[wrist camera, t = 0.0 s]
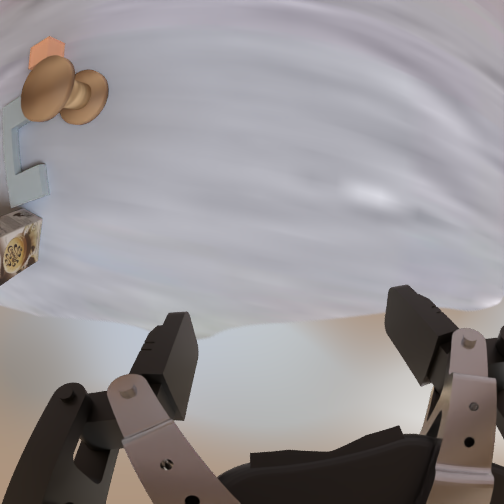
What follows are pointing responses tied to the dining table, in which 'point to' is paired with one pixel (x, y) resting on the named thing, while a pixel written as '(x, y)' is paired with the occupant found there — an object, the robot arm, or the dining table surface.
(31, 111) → the knob
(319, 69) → the dining table surface
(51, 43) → the orange block
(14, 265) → the coffee box
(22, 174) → the notch board
